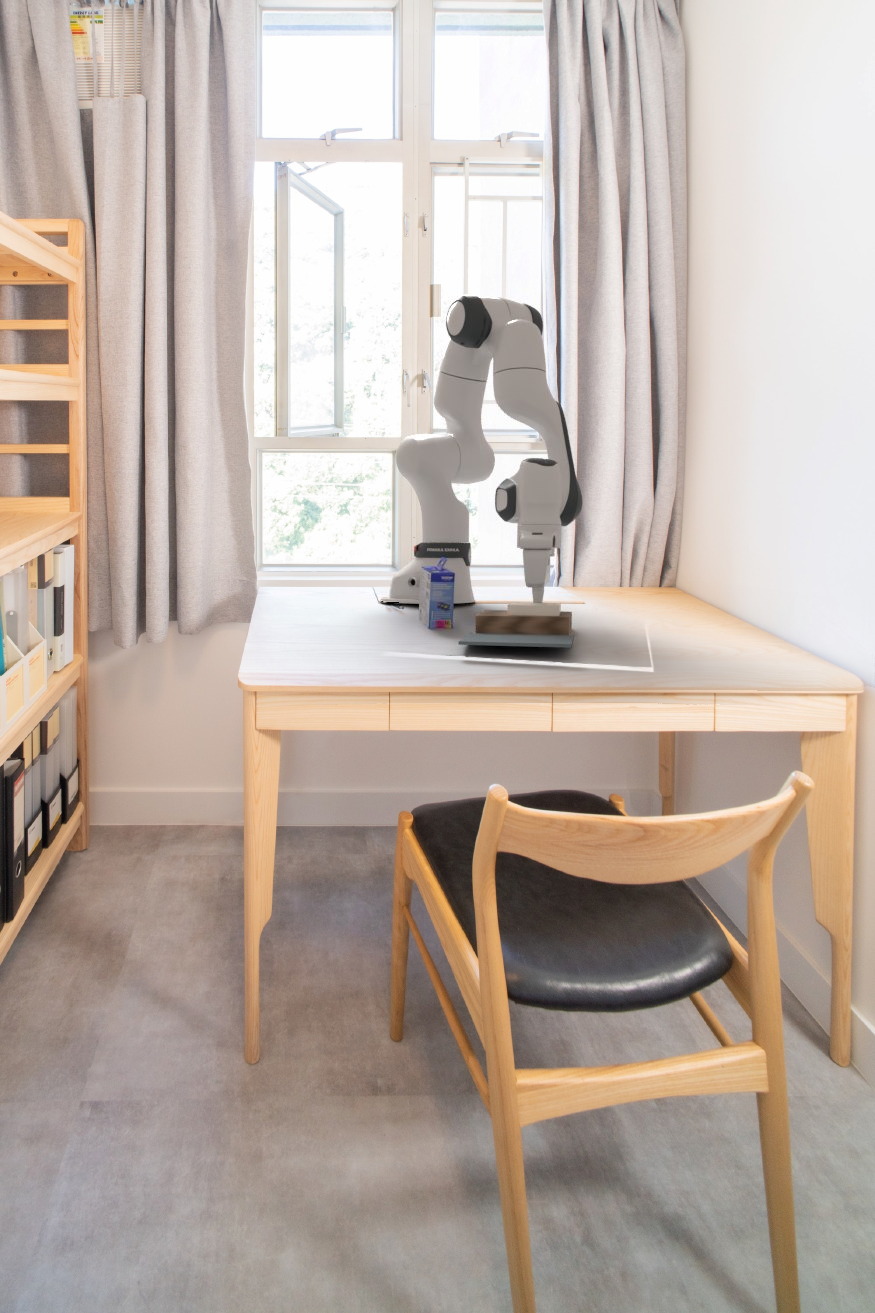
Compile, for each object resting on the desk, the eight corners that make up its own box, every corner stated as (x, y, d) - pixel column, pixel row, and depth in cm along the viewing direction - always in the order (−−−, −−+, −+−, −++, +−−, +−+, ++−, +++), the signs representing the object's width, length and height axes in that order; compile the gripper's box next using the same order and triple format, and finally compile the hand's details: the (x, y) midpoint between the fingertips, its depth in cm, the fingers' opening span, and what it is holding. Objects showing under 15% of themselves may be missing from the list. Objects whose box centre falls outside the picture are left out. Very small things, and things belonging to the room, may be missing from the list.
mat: (458, 644, 170) (458, 641, 170) (470, 635, 184) (470, 632, 184) (570, 647, 166) (570, 644, 166) (573, 638, 181) (574, 635, 181)
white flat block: (507, 615, 185) (507, 604, 185) (510, 612, 192) (511, 602, 192) (558, 616, 183) (559, 605, 183) (560, 613, 190) (560, 603, 190)
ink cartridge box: (454, 631, 194) (456, 561, 190) (428, 632, 192) (429, 561, 189) (443, 622, 203) (444, 554, 200) (417, 622, 202) (419, 554, 198)
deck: (475, 636, 184) (475, 615, 184) (484, 628, 198) (484, 609, 197) (568, 638, 181) (569, 617, 181) (571, 631, 195) (571, 611, 194)
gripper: (527, 539, 201) (526, 604, 203) (519, 539, 181) (518, 611, 183) (557, 539, 200) (556, 604, 202) (552, 539, 180) (550, 612, 182)
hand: (537, 608), depth 192 cm, fingers closed
